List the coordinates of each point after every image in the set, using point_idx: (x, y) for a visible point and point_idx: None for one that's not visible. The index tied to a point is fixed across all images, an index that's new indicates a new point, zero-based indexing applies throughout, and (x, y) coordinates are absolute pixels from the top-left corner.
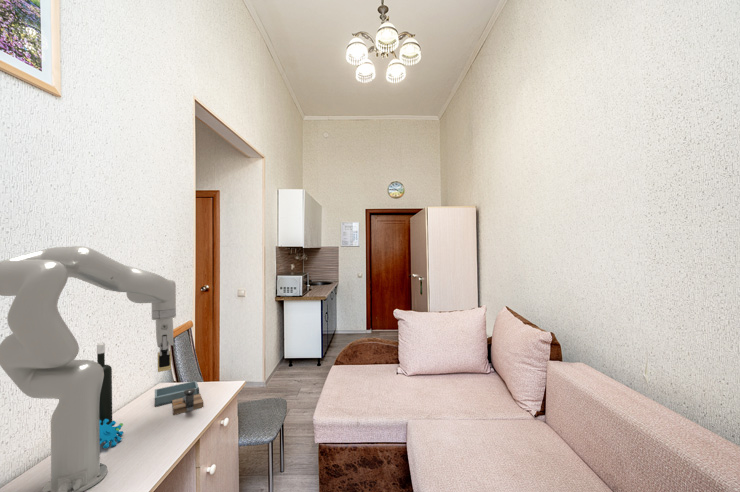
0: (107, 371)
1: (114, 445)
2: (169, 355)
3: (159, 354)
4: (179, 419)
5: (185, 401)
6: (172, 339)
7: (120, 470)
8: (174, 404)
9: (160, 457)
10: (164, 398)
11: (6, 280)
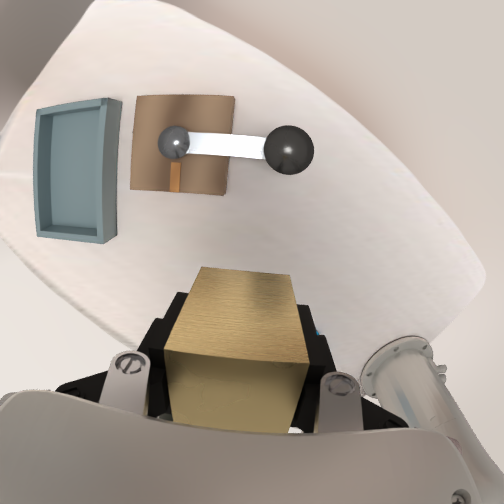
0: None
1: (317, 334)
2: (321, 360)
3: (279, 432)
4: (277, 182)
5: (216, 154)
6: (478, 495)
7: (422, 318)
8: (178, 187)
9: (441, 258)
10: (106, 212)
11: None
